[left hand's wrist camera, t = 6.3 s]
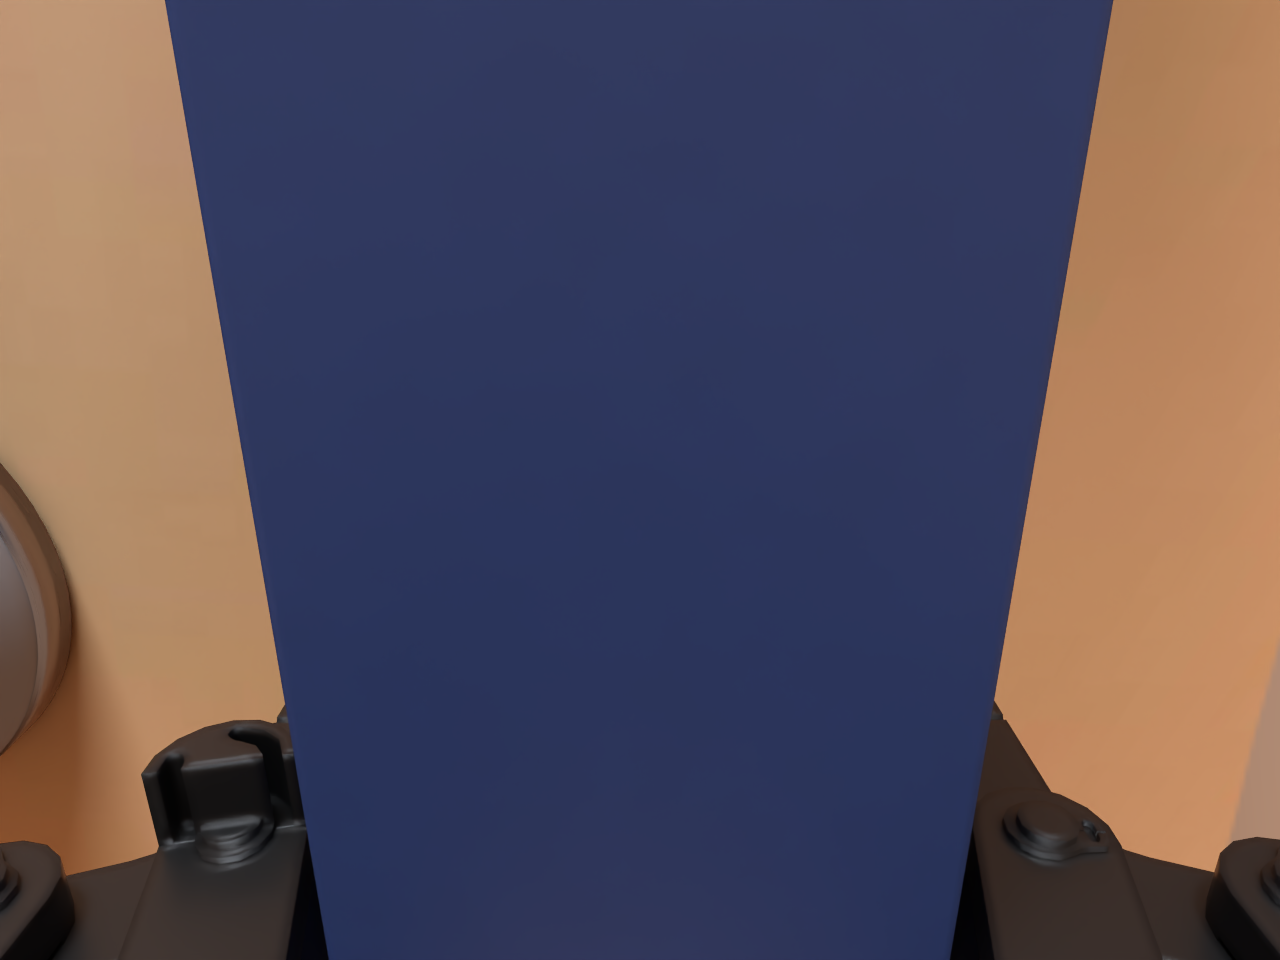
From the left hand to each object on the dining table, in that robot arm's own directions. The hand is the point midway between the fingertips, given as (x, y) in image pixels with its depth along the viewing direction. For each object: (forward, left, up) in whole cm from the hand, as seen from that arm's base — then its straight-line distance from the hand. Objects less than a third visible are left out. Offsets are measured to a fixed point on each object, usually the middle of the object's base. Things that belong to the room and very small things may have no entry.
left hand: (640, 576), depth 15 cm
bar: (+7, +2, -1) cm, 7 cm away
